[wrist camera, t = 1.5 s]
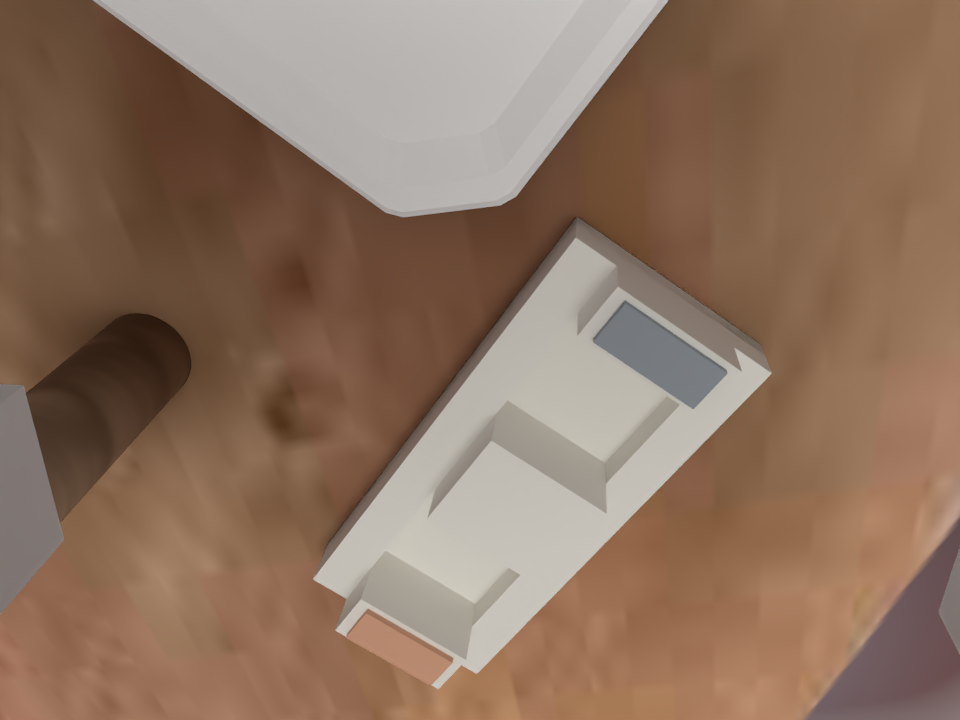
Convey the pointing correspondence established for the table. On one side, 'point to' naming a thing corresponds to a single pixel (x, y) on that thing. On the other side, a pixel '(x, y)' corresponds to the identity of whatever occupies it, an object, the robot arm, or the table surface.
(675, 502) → the table surface
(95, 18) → the table surface
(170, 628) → the table surface
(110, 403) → the dowel
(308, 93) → the plate
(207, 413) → the table surface
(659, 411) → the socket block
